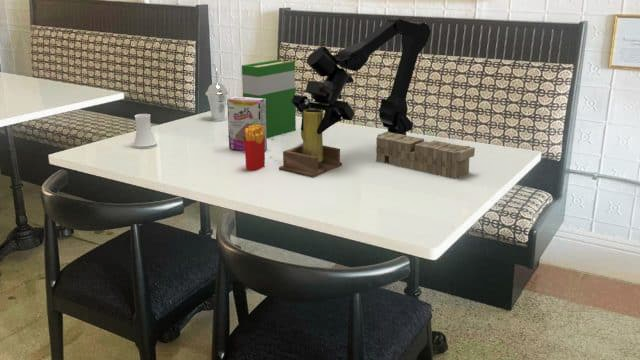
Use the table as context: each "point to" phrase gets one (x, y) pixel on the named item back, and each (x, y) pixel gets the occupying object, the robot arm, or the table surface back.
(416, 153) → the block tower
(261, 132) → the french fries
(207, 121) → the table surface
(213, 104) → the cup with straw
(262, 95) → the hardback book
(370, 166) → the table surface
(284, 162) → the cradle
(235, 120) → the candy bar box
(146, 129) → the vase
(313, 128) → the vase
